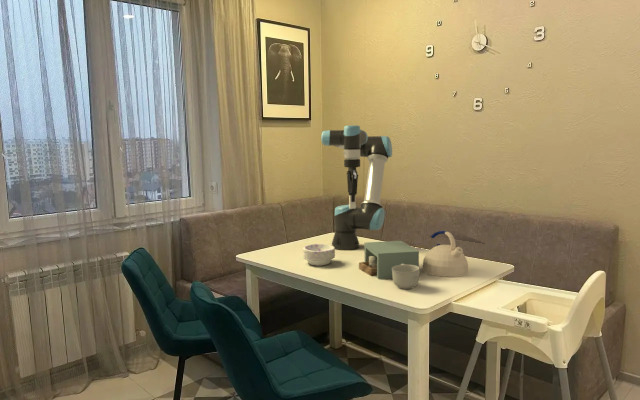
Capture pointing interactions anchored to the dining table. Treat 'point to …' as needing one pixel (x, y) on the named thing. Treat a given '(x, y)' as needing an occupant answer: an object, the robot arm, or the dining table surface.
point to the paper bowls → (319, 254)
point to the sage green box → (391, 256)
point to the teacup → (405, 276)
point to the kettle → (445, 259)
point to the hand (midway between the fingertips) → (352, 208)
